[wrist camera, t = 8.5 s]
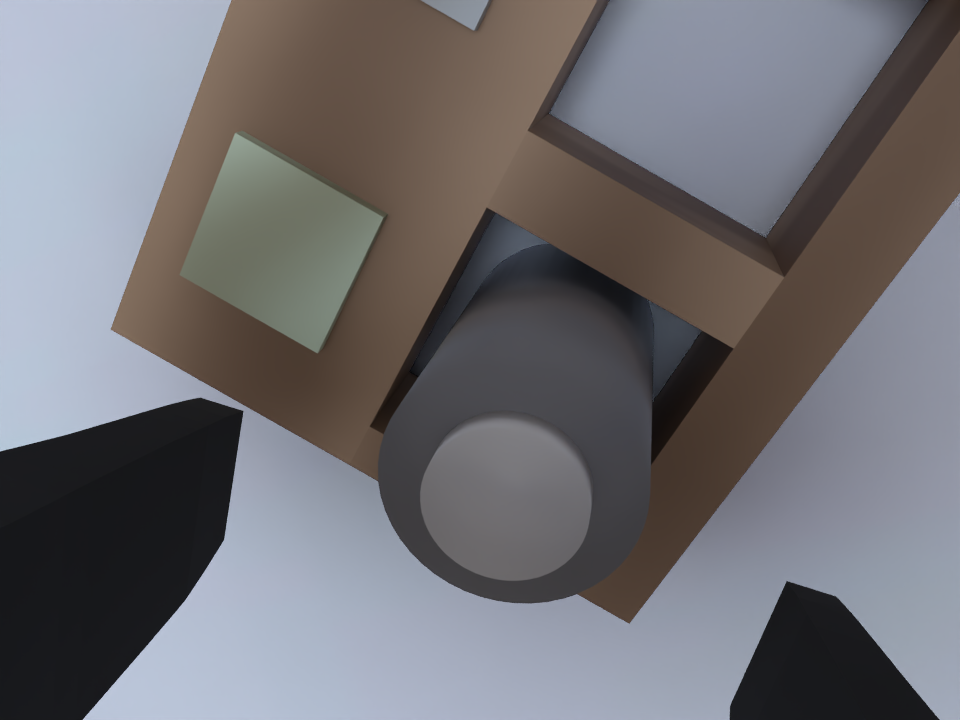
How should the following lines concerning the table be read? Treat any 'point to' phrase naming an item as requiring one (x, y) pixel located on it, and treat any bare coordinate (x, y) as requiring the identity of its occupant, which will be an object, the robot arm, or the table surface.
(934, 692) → the table surface
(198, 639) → the table surface
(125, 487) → the robot arm
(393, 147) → the socket board
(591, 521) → the plug
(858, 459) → the table surface
